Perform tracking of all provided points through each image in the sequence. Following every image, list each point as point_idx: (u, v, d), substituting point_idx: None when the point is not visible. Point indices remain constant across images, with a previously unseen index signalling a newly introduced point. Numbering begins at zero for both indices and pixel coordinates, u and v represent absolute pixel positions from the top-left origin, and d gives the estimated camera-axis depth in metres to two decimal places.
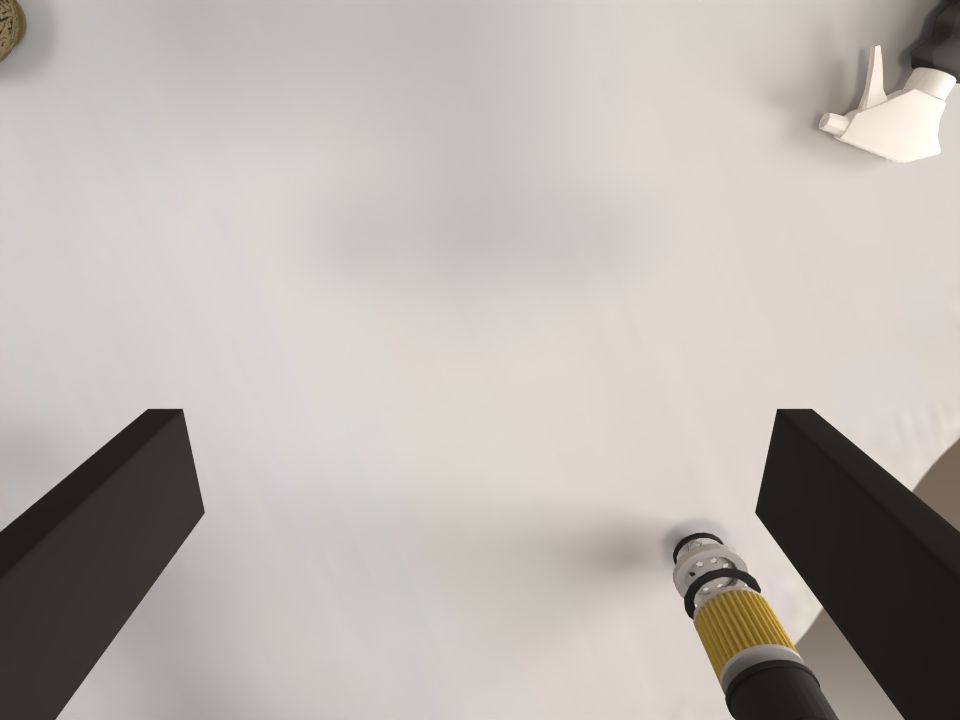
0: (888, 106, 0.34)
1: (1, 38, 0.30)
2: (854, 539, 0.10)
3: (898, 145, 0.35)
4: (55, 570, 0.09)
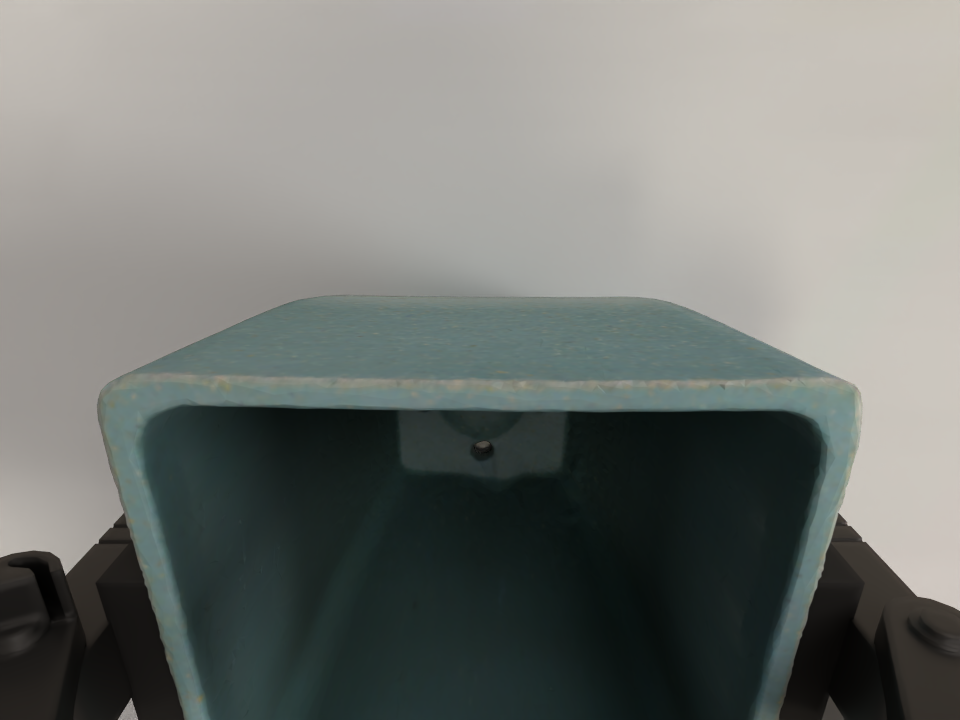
0: None
1: None
2: None
3: None
4: None
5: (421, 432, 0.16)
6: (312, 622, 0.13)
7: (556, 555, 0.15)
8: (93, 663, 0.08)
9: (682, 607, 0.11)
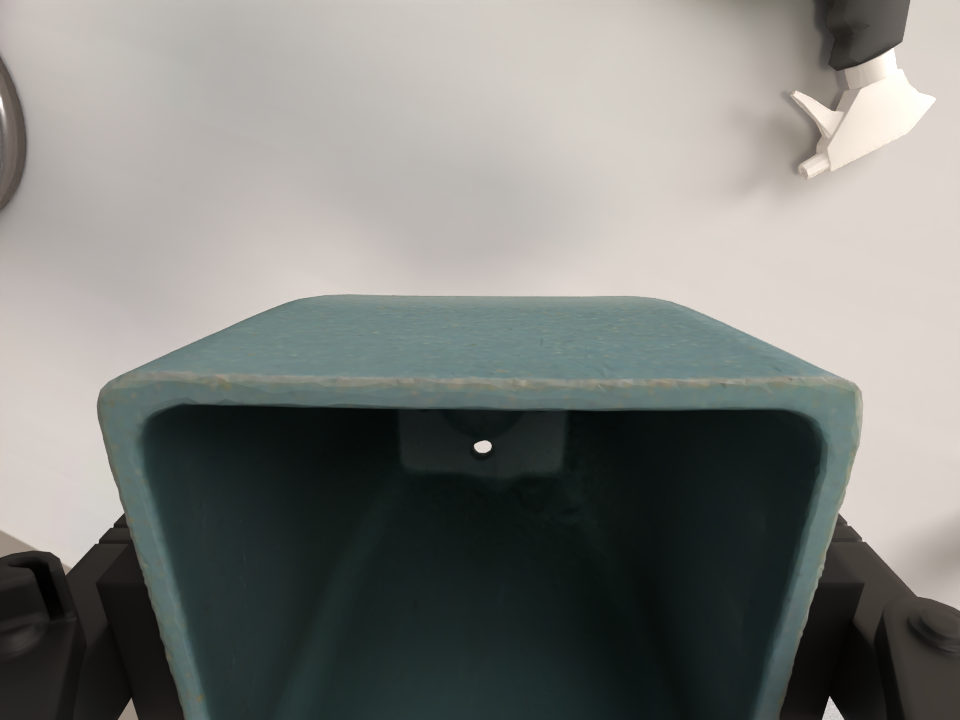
0: (850, 119, 0.32)
1: None
2: None
3: (889, 131, 0.33)
4: None
5: (421, 431, 0.16)
6: (312, 622, 0.13)
7: (556, 554, 0.15)
8: (93, 663, 0.08)
9: (682, 607, 0.11)
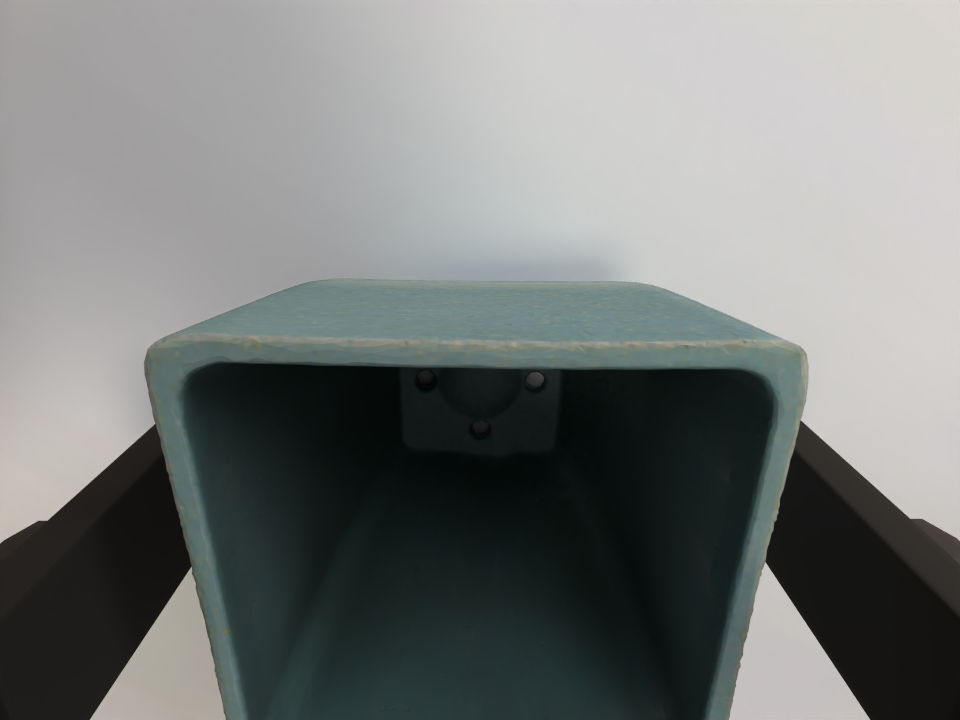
0: None
1: None
2: (811, 524, 0.10)
3: None
4: (106, 551, 0.09)
5: (422, 412, 0.17)
6: (321, 583, 0.14)
7: (548, 526, 0.16)
8: None
9: (662, 565, 0.12)
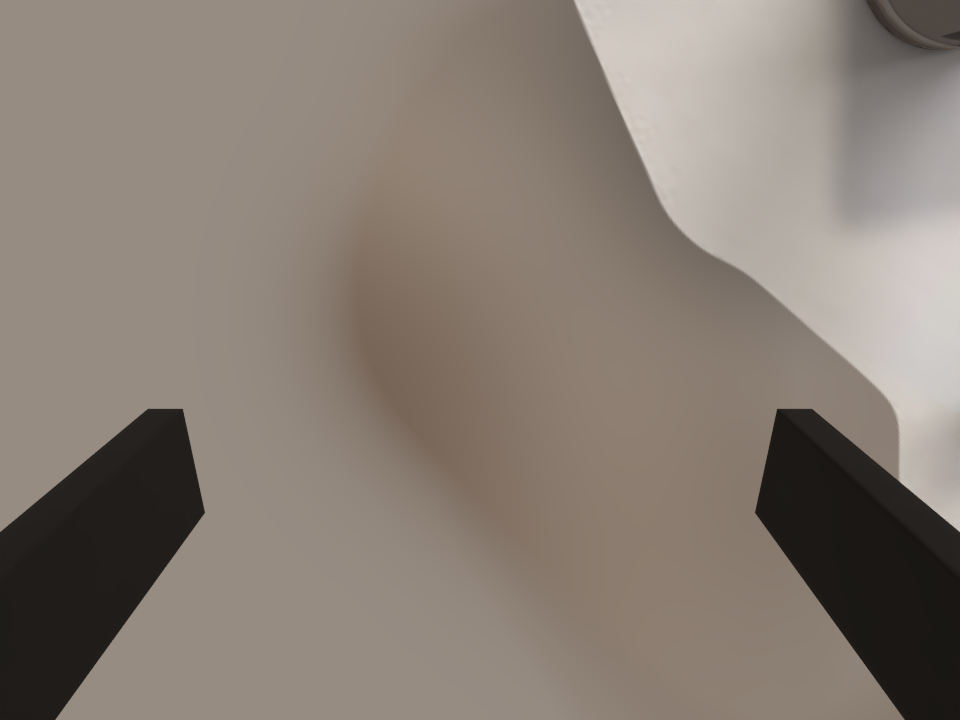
0: None
1: None
2: (854, 539, 0.10)
3: None
4: (55, 570, 0.09)
5: None
6: None
7: None
8: None
9: None
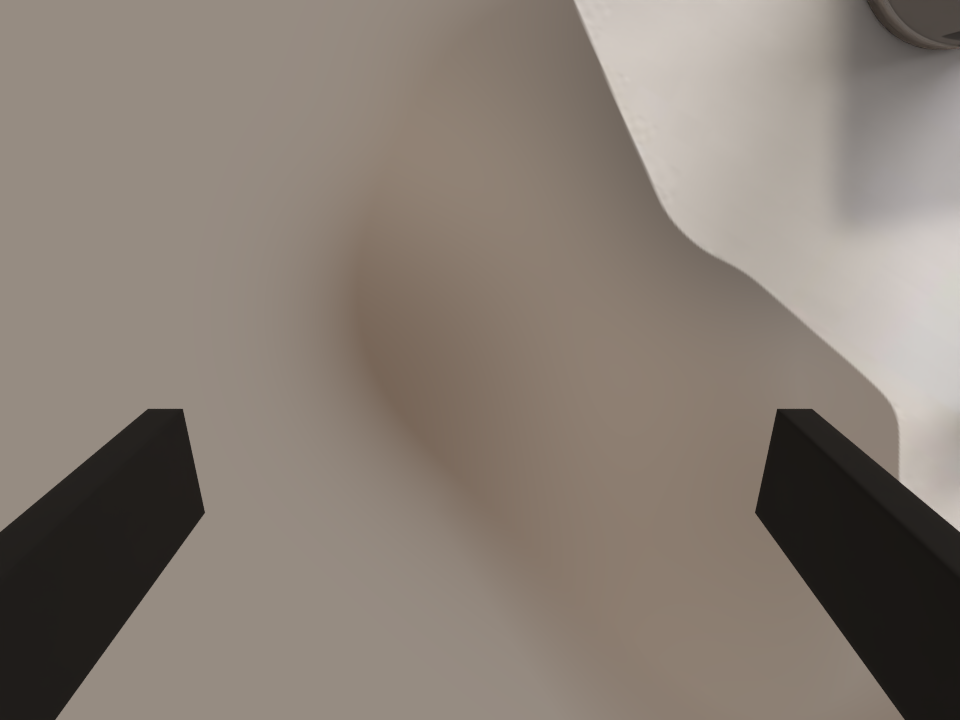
0: None
1: None
2: (854, 539, 0.10)
3: None
4: (55, 570, 0.09)
5: None
6: None
7: None
8: None
9: None
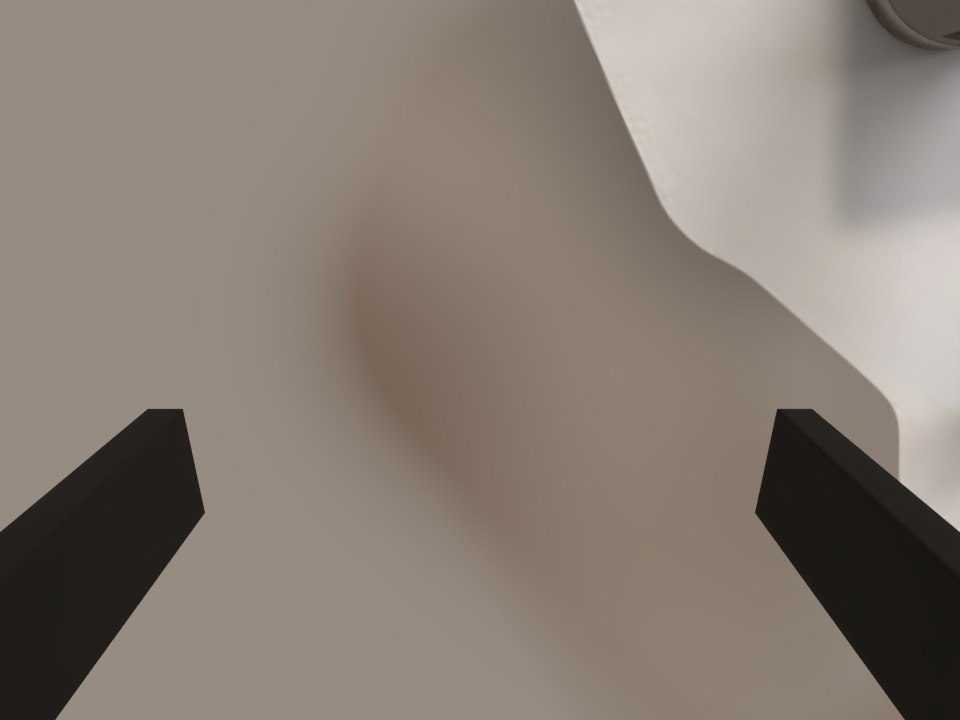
0: None
1: None
2: (854, 539, 0.10)
3: None
4: (55, 570, 0.09)
5: None
6: None
7: None
8: None
9: None
